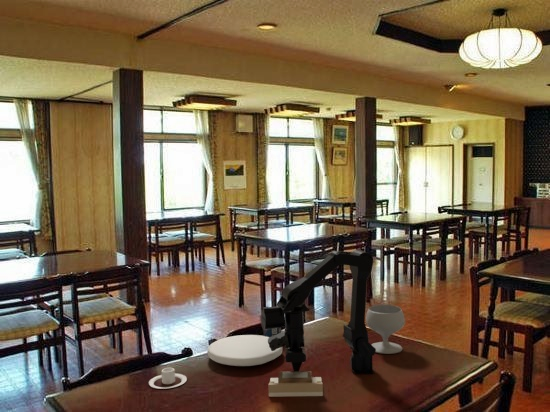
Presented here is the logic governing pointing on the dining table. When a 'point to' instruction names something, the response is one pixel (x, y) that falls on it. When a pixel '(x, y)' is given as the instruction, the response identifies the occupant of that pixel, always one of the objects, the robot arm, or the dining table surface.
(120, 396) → the dining table surface
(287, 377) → the frame
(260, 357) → the white thick flat disc
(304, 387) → the wall board
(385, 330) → the chalice
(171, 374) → the candle holder
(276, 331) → the soda can
